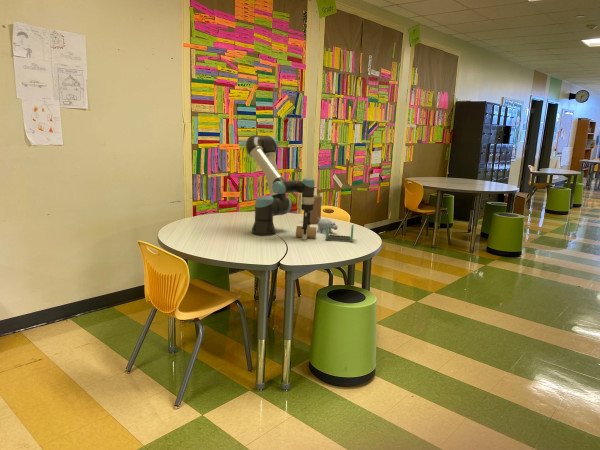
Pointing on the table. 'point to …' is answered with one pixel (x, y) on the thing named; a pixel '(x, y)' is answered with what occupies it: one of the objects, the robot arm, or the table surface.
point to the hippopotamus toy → (323, 224)
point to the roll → (310, 232)
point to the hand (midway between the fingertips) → (305, 237)
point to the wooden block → (315, 210)
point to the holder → (337, 237)
